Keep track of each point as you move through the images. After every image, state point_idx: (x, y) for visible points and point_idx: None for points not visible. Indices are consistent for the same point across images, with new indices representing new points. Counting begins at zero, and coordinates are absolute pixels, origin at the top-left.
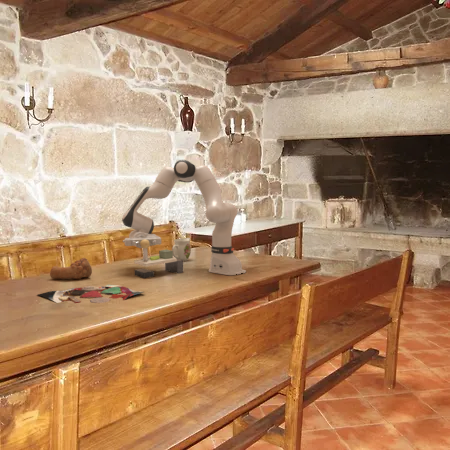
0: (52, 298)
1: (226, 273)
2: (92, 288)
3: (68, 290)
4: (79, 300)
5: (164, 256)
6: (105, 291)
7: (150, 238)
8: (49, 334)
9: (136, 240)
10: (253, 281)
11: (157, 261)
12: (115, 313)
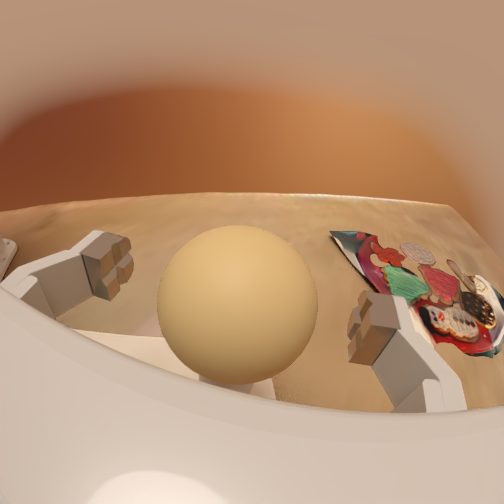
0: (493, 290)
1: (14, 248)
2: (455, 314)
3: (497, 337)
4: (451, 265)
5: None
6: (420, 284)
7: (15, 314)
8: (435, 207)
9: (379, 452)
10: (57, 203)
11: (153, 346)
12: (384, 208)
